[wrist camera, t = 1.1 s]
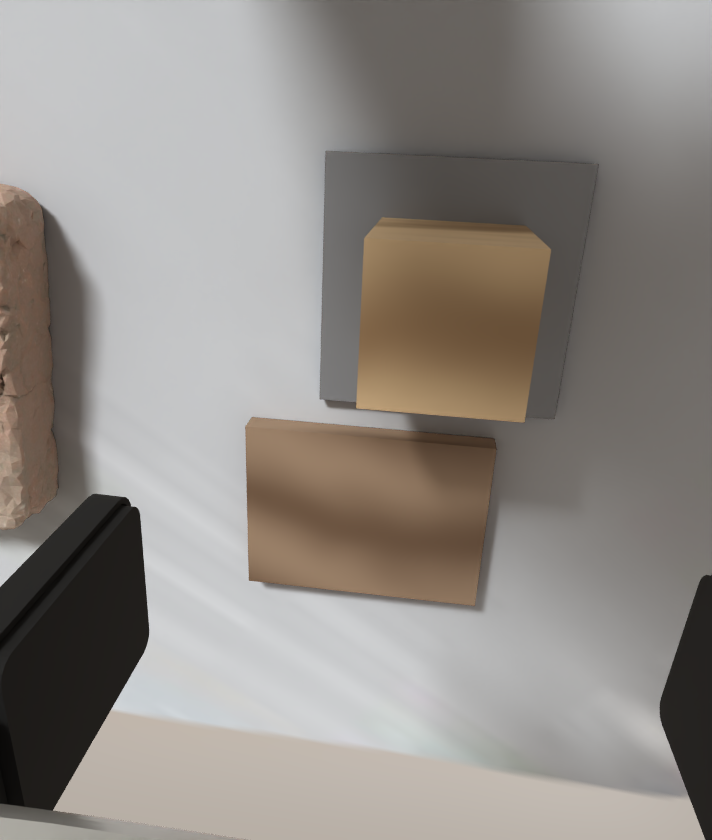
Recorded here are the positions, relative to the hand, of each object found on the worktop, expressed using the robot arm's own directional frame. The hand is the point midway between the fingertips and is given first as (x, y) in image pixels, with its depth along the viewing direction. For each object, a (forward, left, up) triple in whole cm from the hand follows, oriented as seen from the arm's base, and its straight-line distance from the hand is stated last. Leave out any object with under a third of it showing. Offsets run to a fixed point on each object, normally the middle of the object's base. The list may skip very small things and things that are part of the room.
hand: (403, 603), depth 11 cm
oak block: (-1, +1, -20) cm, 20 cm away
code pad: (-1, +1, -21) cm, 21 cm away
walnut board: (+10, -2, -21) cm, 23 cm away
